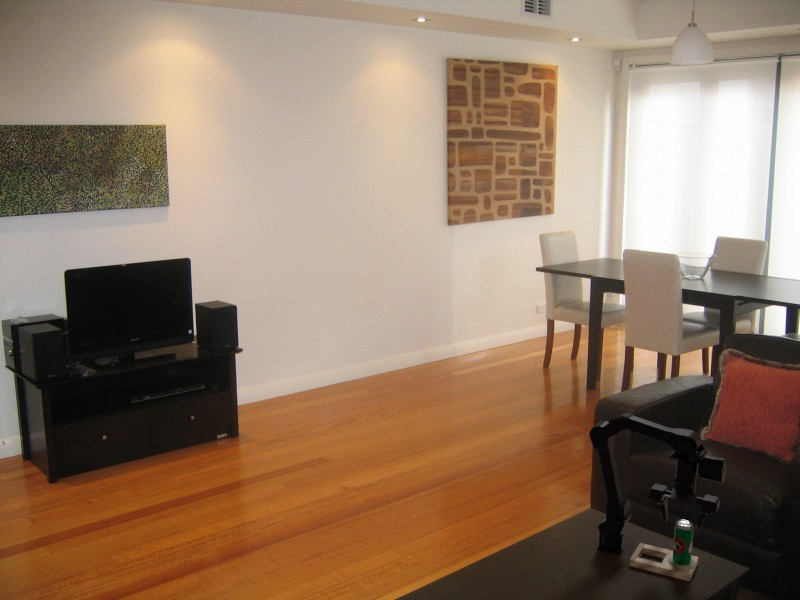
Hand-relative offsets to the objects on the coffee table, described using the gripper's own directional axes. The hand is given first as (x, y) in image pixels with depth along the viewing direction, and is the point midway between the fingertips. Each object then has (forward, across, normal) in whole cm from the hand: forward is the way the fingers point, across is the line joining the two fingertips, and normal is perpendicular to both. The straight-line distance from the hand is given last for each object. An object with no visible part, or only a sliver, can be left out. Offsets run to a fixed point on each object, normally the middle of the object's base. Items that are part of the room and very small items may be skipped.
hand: (682, 525), depth 234 cm
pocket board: (+13, -4, -1) cm, 13 cm away
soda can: (+11, +1, -1) cm, 11 cm away
